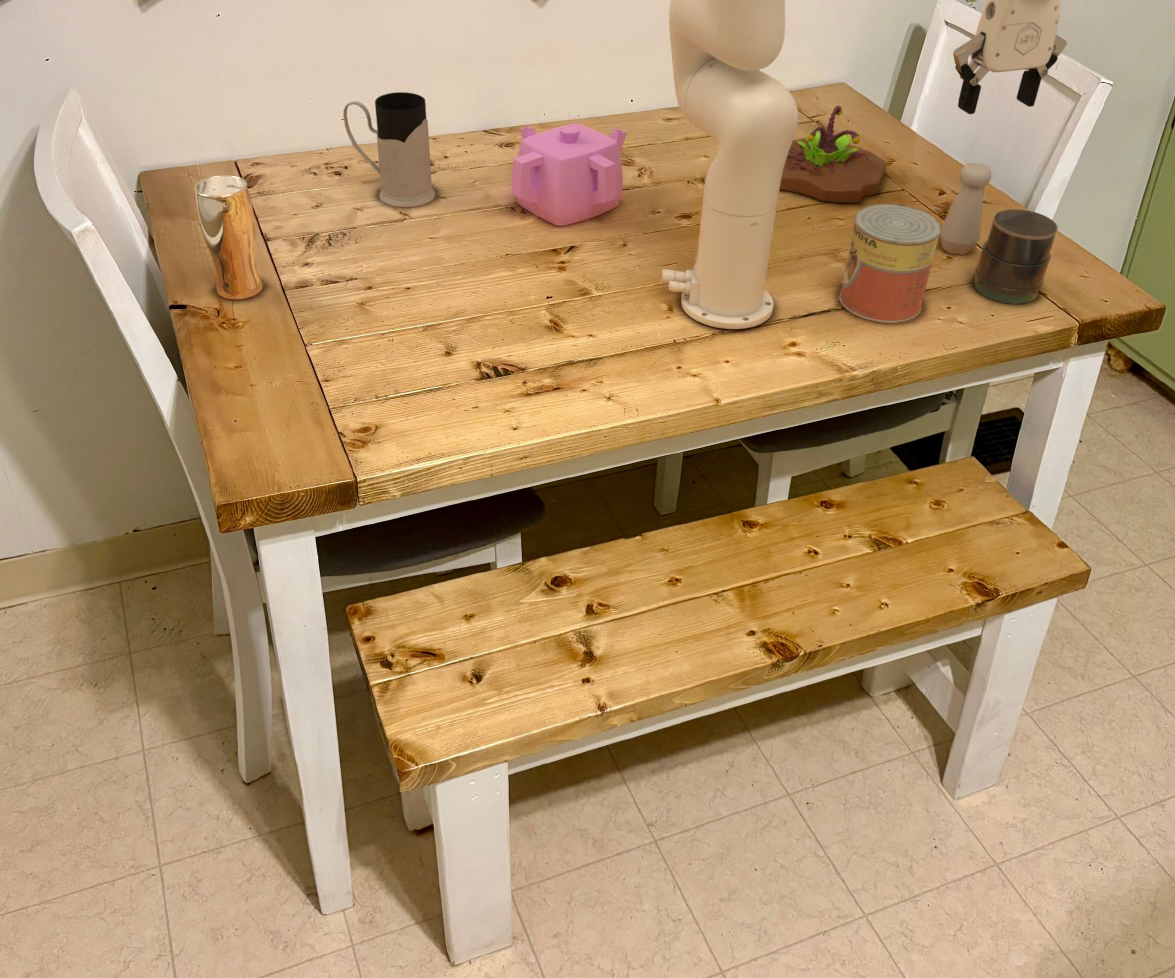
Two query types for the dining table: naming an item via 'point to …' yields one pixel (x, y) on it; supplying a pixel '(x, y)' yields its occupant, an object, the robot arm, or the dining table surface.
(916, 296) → the canned food
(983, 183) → the salt shaker
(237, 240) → the beer glass
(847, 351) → the dining table surface
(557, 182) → the teakettle
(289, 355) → the dining table surface
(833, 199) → the plant
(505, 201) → the dining table surface
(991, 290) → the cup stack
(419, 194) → the glass holder
